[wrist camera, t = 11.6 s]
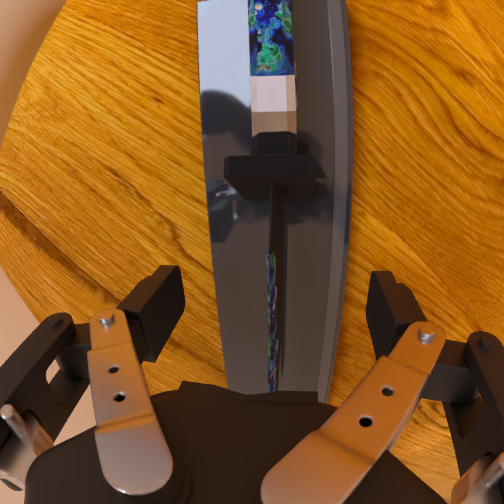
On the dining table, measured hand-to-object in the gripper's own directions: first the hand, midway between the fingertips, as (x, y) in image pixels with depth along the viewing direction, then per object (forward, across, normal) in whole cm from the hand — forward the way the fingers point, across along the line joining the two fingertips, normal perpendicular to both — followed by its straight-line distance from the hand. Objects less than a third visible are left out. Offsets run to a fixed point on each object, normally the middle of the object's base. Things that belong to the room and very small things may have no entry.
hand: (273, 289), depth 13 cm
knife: (+3, 0, 0) cm, 3 cm away
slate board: (+5, 0, 0) cm, 5 cm away
